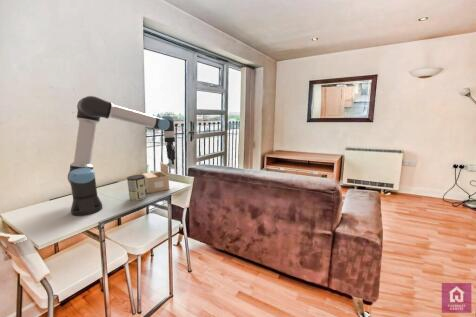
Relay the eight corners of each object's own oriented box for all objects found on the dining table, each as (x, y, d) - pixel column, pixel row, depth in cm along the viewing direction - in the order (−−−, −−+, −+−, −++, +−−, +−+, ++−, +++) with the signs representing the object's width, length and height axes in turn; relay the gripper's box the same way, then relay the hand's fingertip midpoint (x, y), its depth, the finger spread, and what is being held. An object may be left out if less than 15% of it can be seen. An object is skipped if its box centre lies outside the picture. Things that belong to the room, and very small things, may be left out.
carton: (149, 193, 163) (147, 178, 161) (143, 187, 178) (141, 173, 176) (169, 189, 171) (168, 175, 169) (162, 184, 186) (160, 170, 184)
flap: (167, 164, 168) (176, 163, 172) (160, 161, 182) (168, 160, 186) (167, 175, 169) (176, 174, 173) (160, 170, 183) (169, 170, 187)
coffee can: (134, 195, 160) (132, 174, 158) (149, 195, 159) (147, 174, 157) (126, 200, 150) (123, 178, 148) (141, 200, 149) (139, 178, 147)
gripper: (178, 137, 170) (180, 169, 174) (170, 135, 184) (173, 165, 188) (167, 138, 166) (170, 170, 170) (161, 136, 180) (163, 167, 184)
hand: (172, 168), depth 179 cm, fingers closed on flap, 4 cm apart
